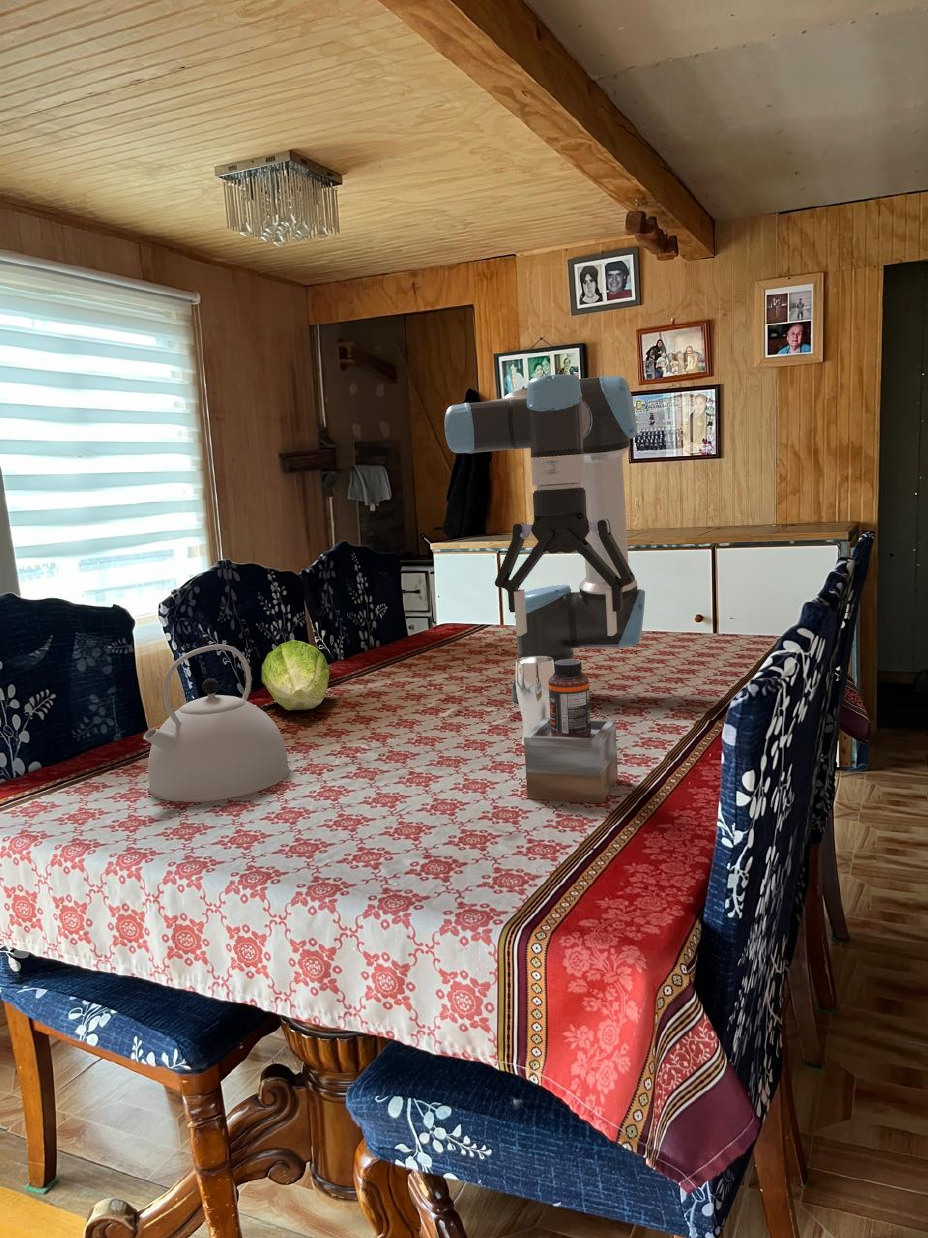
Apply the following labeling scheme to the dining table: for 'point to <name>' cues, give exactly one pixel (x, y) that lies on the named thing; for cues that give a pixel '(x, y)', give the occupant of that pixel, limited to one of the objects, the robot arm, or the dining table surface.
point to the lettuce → (296, 675)
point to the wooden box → (571, 763)
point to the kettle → (214, 745)
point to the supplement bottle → (569, 700)
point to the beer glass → (533, 689)
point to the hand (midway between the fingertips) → (566, 634)
